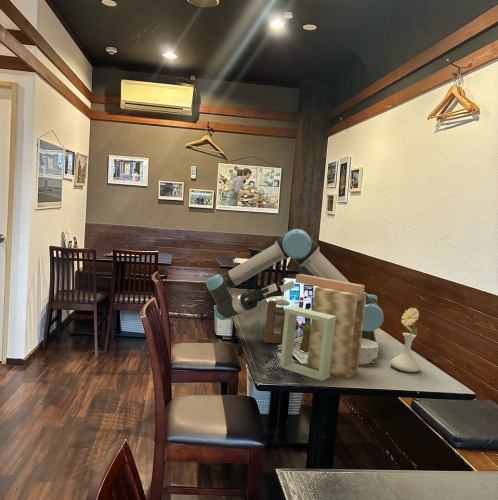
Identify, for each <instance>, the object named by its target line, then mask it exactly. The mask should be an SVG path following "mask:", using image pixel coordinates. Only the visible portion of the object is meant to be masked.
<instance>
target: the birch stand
mask: <svg viewBox="0 0 498 500" xmlns="http://www.w3.org/2000/svg"><path fill="white" fill-rule="evenodd" d="M367 294H368V292H365V291H364V294H361V295H358V294H353V293H348V292H342V291H337V290H332V289H327V288H322V287H317V286H314V295H313V304H312V311H316V312H321V313H325V314H329V315H334V316H337V317H336V321H335V329H334V338H333V347H332V356H331V366H330V376H331V375H332V376H334V377H338V378H342V379H344V380H348V379H349V378H352V377H353V376H354V375H356V374H357V373H358V372H359V366H360V364H359V357H360V348H361V339H362V331H363V322H364V313H365V305H366V296H367ZM310 320H311V323H310V325H311V330H310V340H309V349H308V353H307V360H306V361H307V362H306V367H308V368H311V369H314V370H317V371H319V363H320V354H321V344H322V335H323V326H324V322H322V321H318V320H314V319H310Z"/></svg>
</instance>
